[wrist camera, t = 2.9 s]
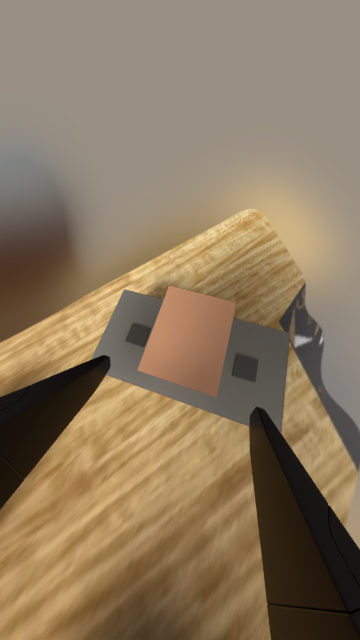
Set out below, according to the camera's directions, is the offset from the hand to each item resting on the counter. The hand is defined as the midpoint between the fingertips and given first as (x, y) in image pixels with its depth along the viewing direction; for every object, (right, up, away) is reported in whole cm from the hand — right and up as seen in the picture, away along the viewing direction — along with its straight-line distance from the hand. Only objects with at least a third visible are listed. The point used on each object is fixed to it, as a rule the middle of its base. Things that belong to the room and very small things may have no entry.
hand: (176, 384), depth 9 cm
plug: (+1, -1, +10) cm, 10 cm away
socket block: (+1, -1, +10) cm, 10 cm away
